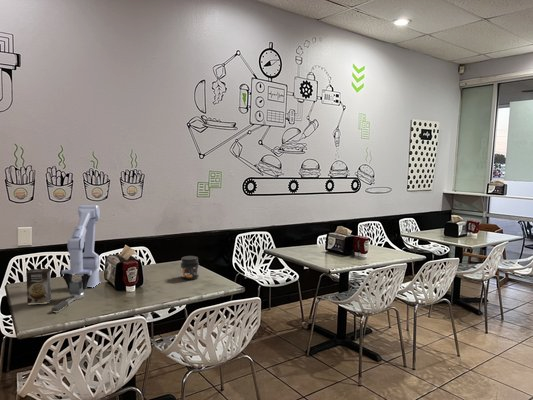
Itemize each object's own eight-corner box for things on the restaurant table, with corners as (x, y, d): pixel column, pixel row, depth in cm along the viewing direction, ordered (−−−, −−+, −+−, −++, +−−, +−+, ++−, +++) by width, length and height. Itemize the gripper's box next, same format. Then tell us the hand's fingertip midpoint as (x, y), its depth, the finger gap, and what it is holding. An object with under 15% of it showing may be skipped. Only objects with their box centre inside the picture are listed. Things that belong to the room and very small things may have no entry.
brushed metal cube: (75, 291, 207) (74, 279, 206) (84, 291, 207) (84, 279, 206) (69, 294, 202) (69, 282, 201) (79, 294, 202) (79, 282, 201)
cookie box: (27, 306, 193) (25, 272, 191) (30, 301, 199) (29, 268, 197) (48, 304, 195) (47, 271, 193) (51, 299, 201) (50, 267, 199)
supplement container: (177, 279, 237) (177, 259, 236) (185, 274, 247) (185, 254, 246) (193, 281, 234) (193, 260, 233) (201, 276, 244) (201, 256, 243)
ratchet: (74, 295, 208) (74, 284, 207) (86, 295, 208) (86, 285, 207) (48, 312, 185) (47, 300, 185) (61, 313, 185) (60, 301, 184)
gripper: (57, 263, 199) (58, 290, 201) (86, 264, 198) (87, 291, 200) (65, 259, 206) (66, 286, 208) (93, 260, 205) (94, 287, 207)
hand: (77, 288), depth 204 cm, fingers open, 7 cm apart
